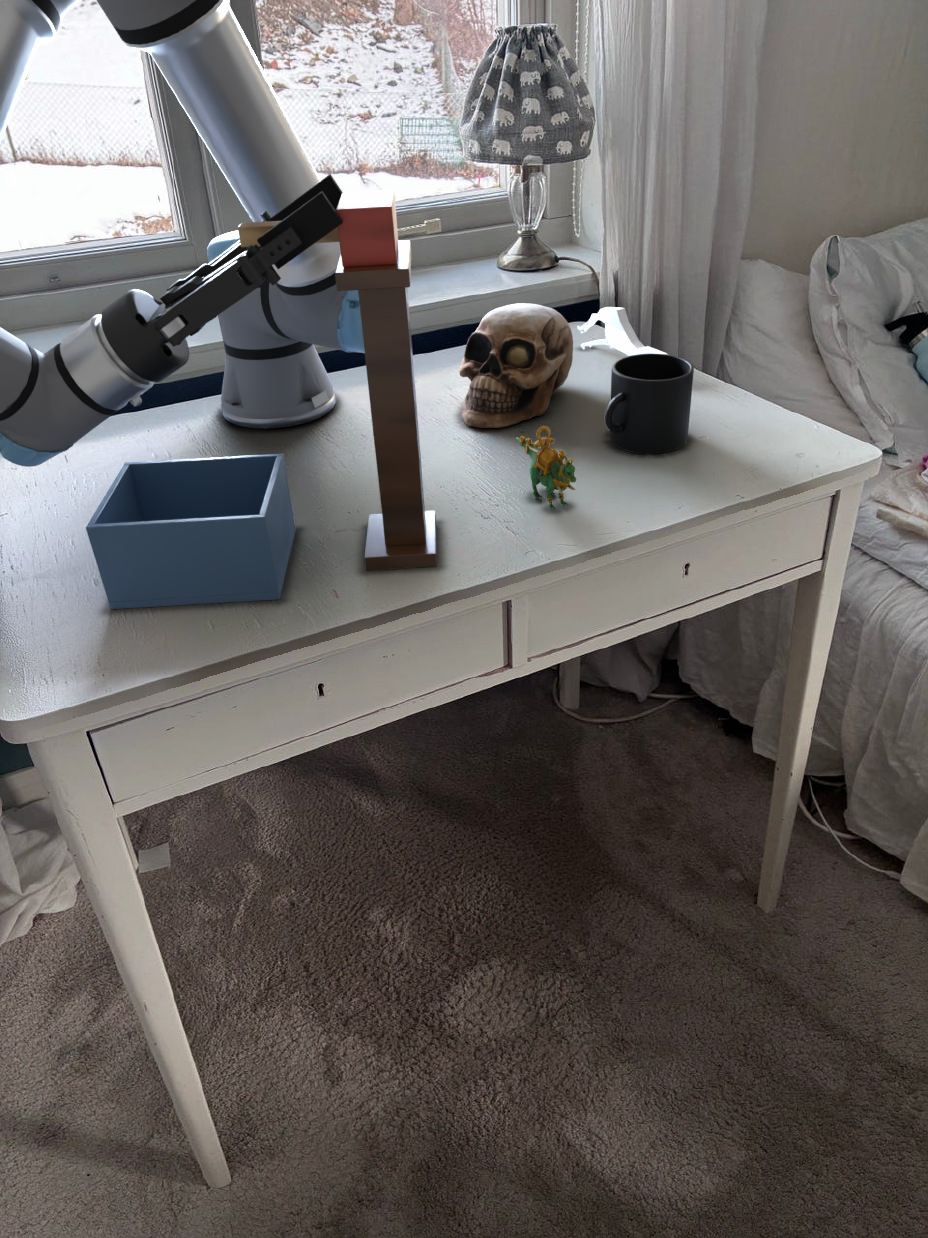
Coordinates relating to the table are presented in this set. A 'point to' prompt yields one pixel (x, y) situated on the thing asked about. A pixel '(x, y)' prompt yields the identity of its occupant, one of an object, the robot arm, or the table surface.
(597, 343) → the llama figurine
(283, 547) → the tub
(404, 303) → the stand
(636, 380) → the mug
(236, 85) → the robot arm
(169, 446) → the table surface
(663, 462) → the table surface
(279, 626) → the table surface
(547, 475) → the figurine
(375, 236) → the mallet
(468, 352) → the tan skull model
